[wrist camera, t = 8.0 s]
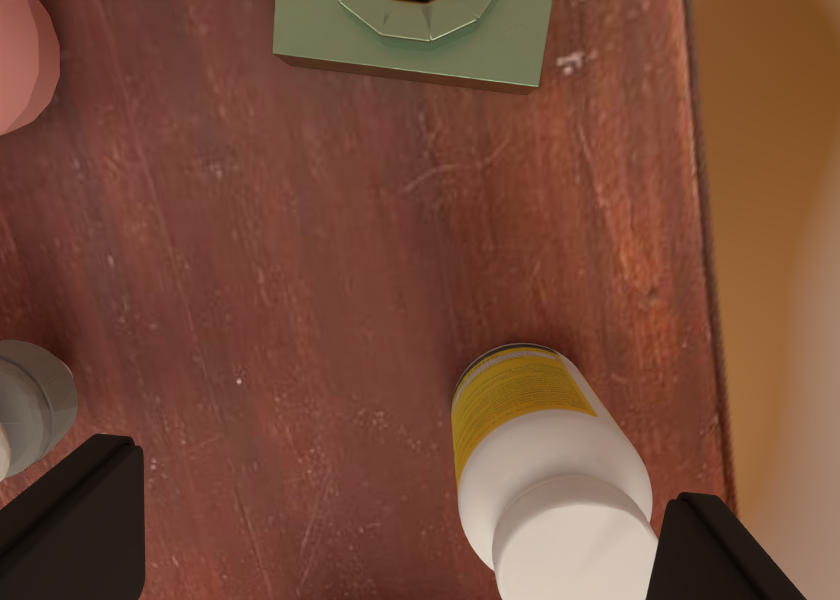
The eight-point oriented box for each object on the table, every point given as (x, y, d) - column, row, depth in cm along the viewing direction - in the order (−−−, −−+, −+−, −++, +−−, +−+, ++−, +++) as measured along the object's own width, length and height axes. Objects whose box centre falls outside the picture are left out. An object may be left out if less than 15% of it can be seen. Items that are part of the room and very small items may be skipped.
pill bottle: (424, 383, 27) (417, 542, 16) (543, 312, 26) (627, 425, 15) (496, 488, 28) (537, 705, 17) (613, 423, 27) (739, 607, 16)
